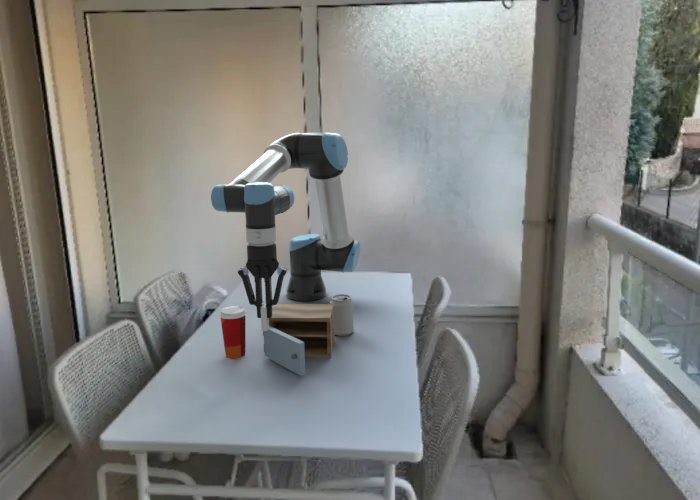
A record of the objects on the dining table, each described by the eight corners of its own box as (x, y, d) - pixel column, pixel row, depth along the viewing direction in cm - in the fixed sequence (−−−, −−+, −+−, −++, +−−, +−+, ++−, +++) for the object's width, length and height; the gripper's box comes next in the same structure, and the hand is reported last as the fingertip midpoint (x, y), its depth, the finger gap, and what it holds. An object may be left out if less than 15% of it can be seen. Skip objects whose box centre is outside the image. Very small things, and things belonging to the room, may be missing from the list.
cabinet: (276, 340, 175) (274, 303, 173) (334, 340, 175) (333, 303, 172) (268, 356, 164) (266, 317, 161) (331, 357, 163) (330, 318, 160)
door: (267, 353, 164) (265, 323, 162) (305, 373, 151) (304, 342, 149) (259, 355, 162) (257, 326, 160) (297, 376, 149) (296, 344, 147)
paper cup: (239, 347, 171) (236, 303, 167) (254, 355, 165) (251, 309, 162) (216, 355, 165) (213, 310, 162) (231, 363, 160) (228, 316, 157)
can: (351, 337, 177) (350, 301, 174) (327, 336, 178) (327, 299, 176) (355, 328, 184) (355, 293, 181) (333, 327, 186) (332, 292, 183)
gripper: (232, 246, 143) (237, 334, 148) (284, 246, 142) (287, 334, 148) (239, 239, 150) (244, 323, 156) (288, 239, 150) (291, 324, 155)
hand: (265, 329), depth 152 cm, fingers closed
